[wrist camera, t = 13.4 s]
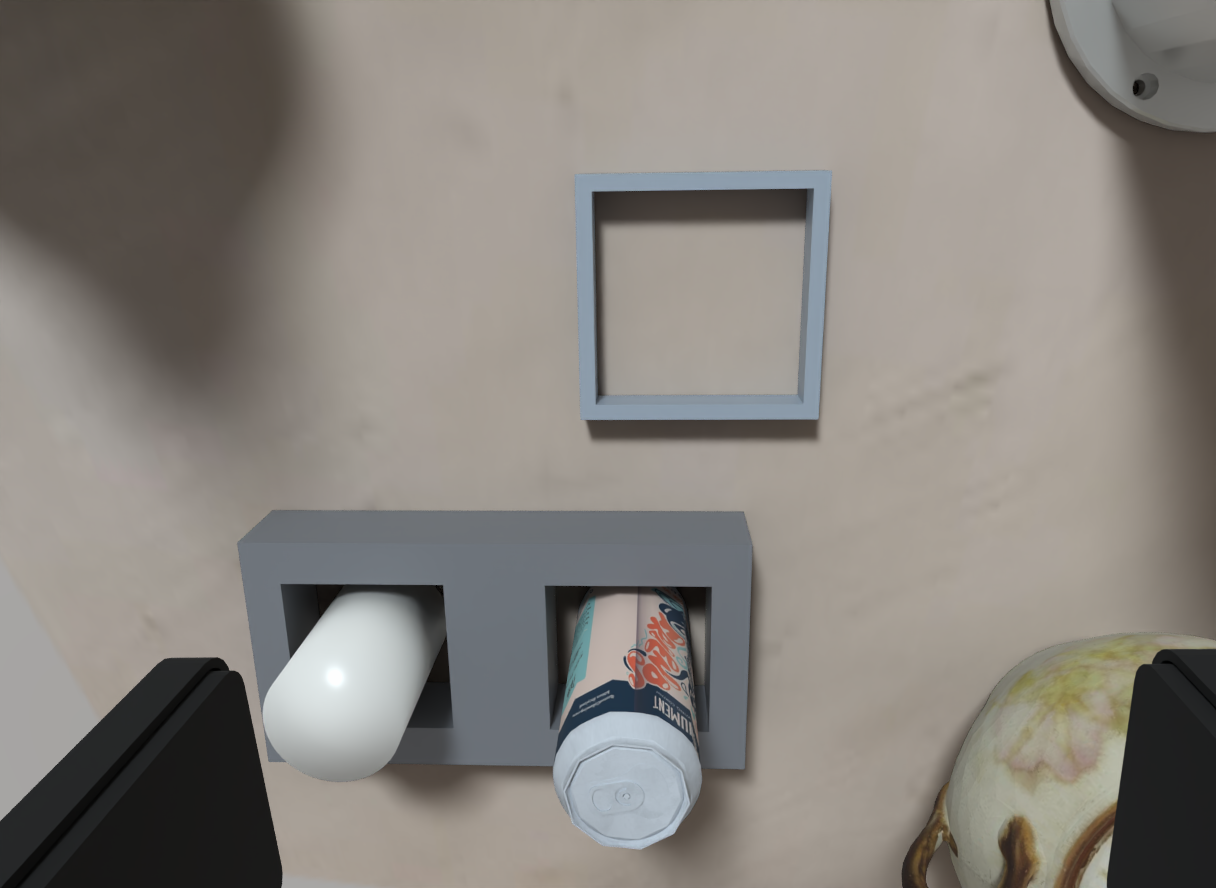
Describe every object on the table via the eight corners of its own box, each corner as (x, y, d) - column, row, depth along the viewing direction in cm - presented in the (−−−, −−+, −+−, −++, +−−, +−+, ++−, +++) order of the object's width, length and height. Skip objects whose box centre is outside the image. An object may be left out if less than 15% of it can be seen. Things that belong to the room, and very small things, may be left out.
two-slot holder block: (743, 511, 38) (766, 598, 31) (737, 720, 41) (756, 846, 34) (272, 510, 39) (180, 594, 32) (298, 714, 42) (220, 836, 34)
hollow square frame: (824, 170, 34) (832, 170, 33) (811, 409, 37) (818, 419, 35) (577, 173, 35) (574, 174, 33) (583, 410, 37) (580, 419, 36)
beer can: (698, 653, 40) (717, 848, 29) (593, 672, 41) (570, 872, 29) (675, 554, 39) (686, 718, 28) (566, 576, 39) (532, 745, 28)
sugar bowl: (1330, 546, 38) (1748, 782, 23) (1298, 846, 42) (1635, 1202, 28) (843, 592, 39) (954, 840, 25) (860, 877, 43) (964, 1229, 29)
